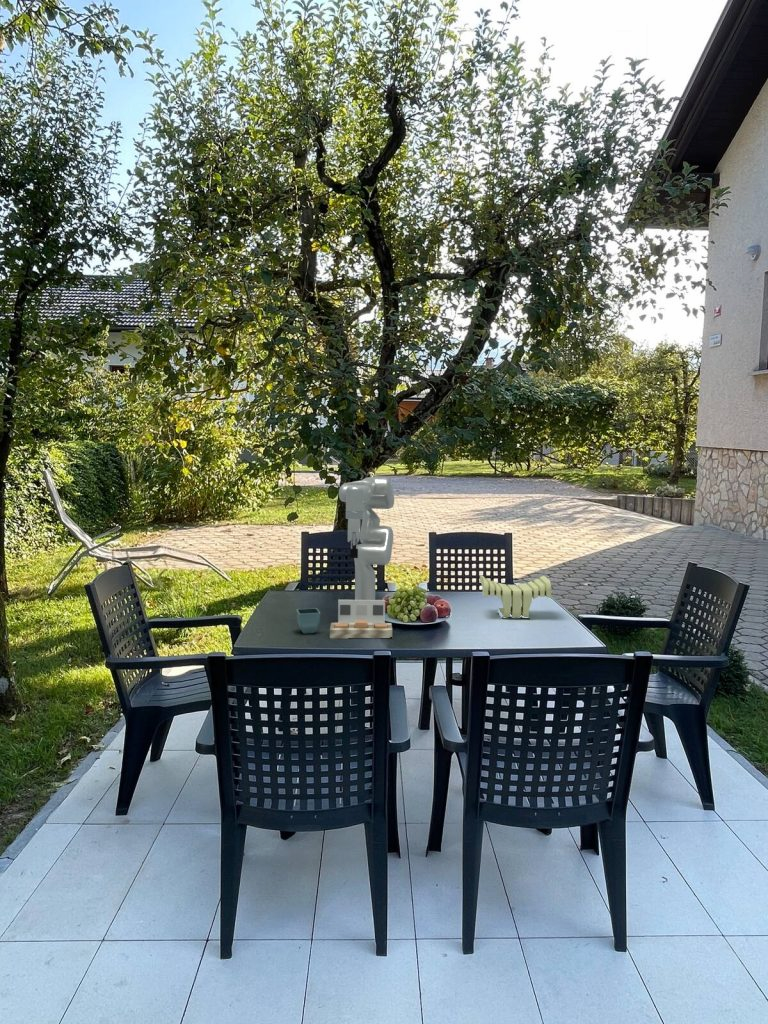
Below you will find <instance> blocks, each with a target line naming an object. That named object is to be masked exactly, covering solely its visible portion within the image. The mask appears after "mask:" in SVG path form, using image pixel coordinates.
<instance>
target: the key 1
mask: <svg viewBox="0 0 768 1024" xmlns="http://www.w3.org/2000/svg"><path fill="white" fill-rule="evenodd" d="M335 623H336V624H335V628H348V623H338V622H335Z"/></svg>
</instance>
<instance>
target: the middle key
mask: <svg viewBox="0 0 768 1024" xmlns="http://www.w3.org/2000/svg"><path fill="white" fill-rule="evenodd" d="M355 628H367V620H355Z"/></svg>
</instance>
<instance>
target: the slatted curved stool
mask: <svg viewBox="0 0 768 1024" xmlns="http://www.w3.org/2000/svg"><path fill="white" fill-rule="evenodd" d="M479 582H480V584H481V588H482V596H483V597H484V598H486V597H488V596H490V597H497V598H499V599H500V600H501V603H502V607H500V608H499V607H498V609H499V610H500V612H501V613H502V615H503V617H510V614H511V615H512V617H520V616H521V615H522V616H524V617H529V618H530V614H529V613H530V612H529V611H530V608H531V605H532V604H533V603H532V602H533V600H535V599H537V598H539V597H541V598H545V597H546V598H549V599H551V598H552V584H551V580H550V579H549V578H548V577H546V576H545V575H542V576H540V577H539V578H536V579H534V580H532V581H531V580H530V581H528V582H527V583H526V582H525V583H524V582H523V583H519V584H506V583H500V582H496V581H494V580H491V579H489V578H487V577H485V576H483V575H482V574H479ZM510 618H511V617H510ZM520 618H521V617H520Z"/></svg>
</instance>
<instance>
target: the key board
mask: <svg viewBox="0 0 768 1024" xmlns="http://www.w3.org/2000/svg"><path fill="white" fill-rule="evenodd" d="M336 623H337V622H331V623H330V628H329V639H348V638H390V637H392V638H393V626H392V625H393V624H392V622H386V623H387V628H375V623H367V628H355V623H348V628H335V624H336Z"/></svg>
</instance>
